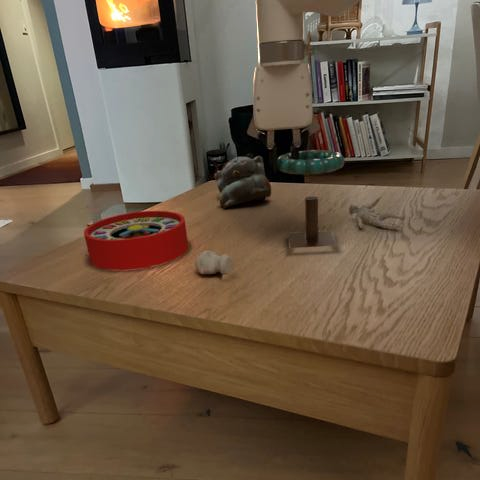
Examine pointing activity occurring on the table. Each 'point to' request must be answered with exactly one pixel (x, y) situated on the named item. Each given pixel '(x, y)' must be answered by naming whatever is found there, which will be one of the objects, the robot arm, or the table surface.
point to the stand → (311, 229)
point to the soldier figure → (373, 215)
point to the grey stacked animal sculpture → (242, 181)
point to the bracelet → (311, 162)
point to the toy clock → (136, 240)
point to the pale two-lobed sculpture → (214, 263)
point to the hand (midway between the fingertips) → (284, 169)
